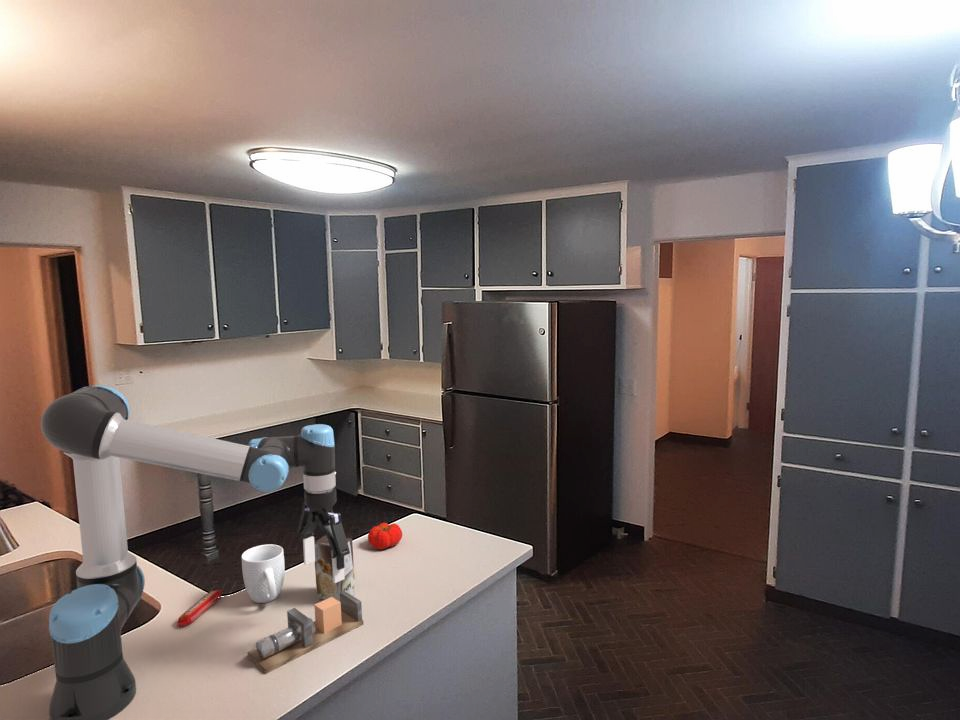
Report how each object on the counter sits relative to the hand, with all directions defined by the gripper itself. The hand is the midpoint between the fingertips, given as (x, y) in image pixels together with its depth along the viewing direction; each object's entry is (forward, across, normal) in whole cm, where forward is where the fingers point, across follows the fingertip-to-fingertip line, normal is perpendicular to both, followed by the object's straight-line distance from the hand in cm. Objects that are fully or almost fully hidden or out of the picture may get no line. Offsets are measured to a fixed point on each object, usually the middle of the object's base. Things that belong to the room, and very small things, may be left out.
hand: (323, 571), depth 145 cm
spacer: (+15, 0, -1) cm, 15 cm away
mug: (+16, +26, +3) cm, 31 cm away
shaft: (+15, 0, +11) cm, 18 cm away
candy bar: (+16, +33, +18) cm, 41 cm away
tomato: (+16, +29, -40) cm, 52 cm away
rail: (+16, 0, +5) cm, 16 cm away
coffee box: (+16, +13, -11) cm, 23 cm away
